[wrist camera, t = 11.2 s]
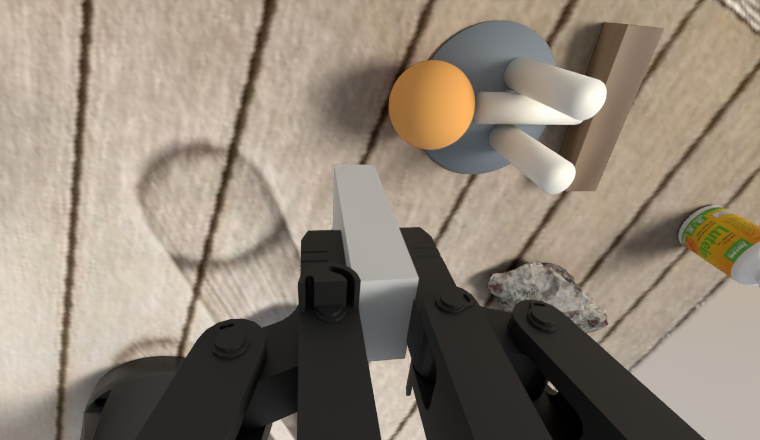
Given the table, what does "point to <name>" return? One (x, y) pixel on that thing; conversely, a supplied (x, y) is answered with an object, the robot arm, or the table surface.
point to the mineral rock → (548, 293)
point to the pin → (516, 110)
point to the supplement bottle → (724, 242)
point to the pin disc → (487, 86)
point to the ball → (431, 104)
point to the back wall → (609, 99)
